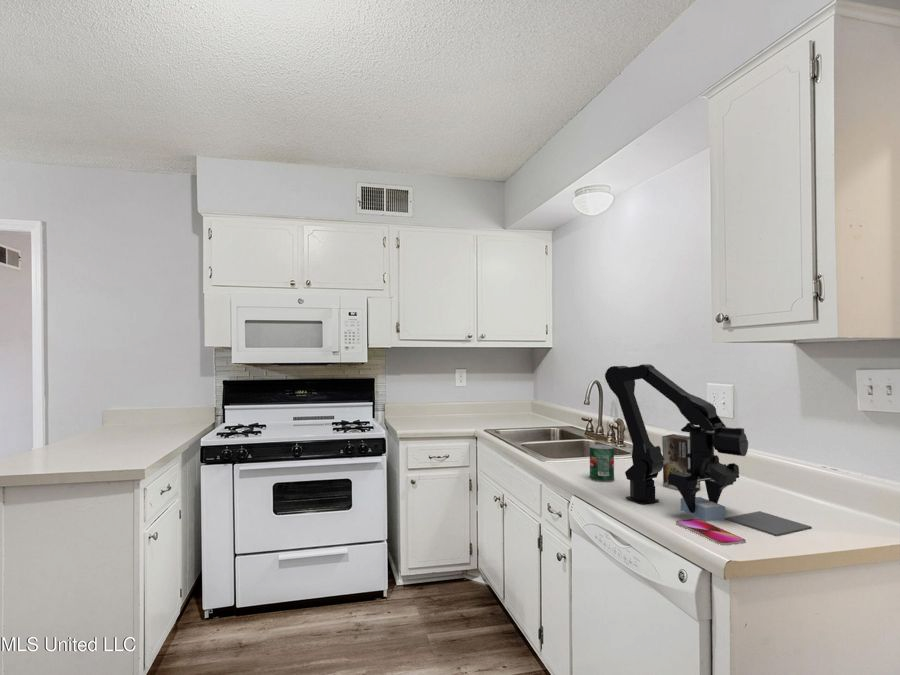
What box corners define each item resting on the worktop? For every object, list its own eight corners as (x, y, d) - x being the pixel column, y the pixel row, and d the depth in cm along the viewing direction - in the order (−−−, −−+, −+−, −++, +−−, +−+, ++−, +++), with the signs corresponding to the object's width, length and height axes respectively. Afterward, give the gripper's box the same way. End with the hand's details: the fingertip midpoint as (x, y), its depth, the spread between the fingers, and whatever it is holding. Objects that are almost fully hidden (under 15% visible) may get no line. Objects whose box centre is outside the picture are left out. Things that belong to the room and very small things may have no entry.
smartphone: (721, 543, 111) (673, 520, 125) (721, 548, 110) (673, 524, 125) (748, 540, 113) (698, 518, 127) (748, 545, 113) (698, 522, 127)
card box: (680, 511, 136) (680, 497, 136) (700, 509, 137) (699, 496, 137) (705, 522, 127) (704, 507, 127) (725, 520, 128) (725, 506, 128)
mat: (725, 519, 128) (725, 517, 128) (759, 512, 133) (759, 511, 133) (776, 536, 116) (776, 534, 116) (811, 528, 121) (811, 526, 122)
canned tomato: (585, 477, 171) (584, 444, 172) (604, 475, 174) (604, 443, 174) (598, 483, 164) (598, 449, 164) (619, 481, 166) (619, 447, 167)
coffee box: (701, 490, 155) (700, 437, 156) (688, 493, 152) (688, 439, 152) (674, 483, 163) (673, 433, 164) (662, 486, 160) (661, 435, 160)
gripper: (702, 459, 121) (703, 525, 121) (755, 453, 129) (756, 515, 128) (665, 451, 131) (666, 511, 131) (716, 445, 139) (717, 503, 139)
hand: (702, 510), depth 132 cm, fingers open, 7 cm apart
